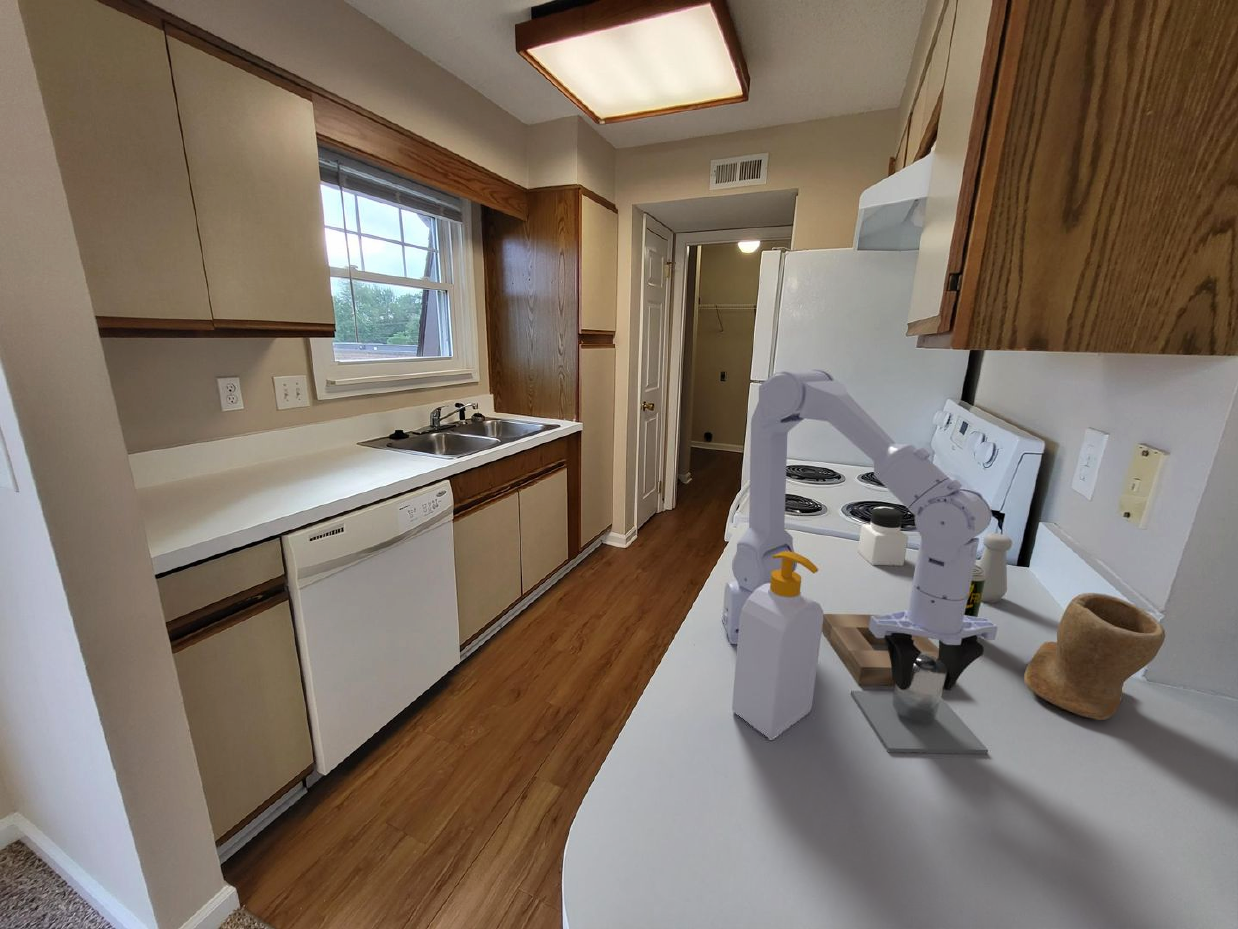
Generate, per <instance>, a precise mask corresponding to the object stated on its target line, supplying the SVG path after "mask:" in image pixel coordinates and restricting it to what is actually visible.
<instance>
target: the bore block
mask: <svg viewBox="0 0 1238 929" xmlns="http://www.w3.org/2000/svg"><path fill="white" fill-rule="evenodd" d="M879 615H880V614H857V613H856V614H852V613H850V614H848V613H846V614H843V613H823V625H822V632H823V633H822V634H823V636H824V637H825V638H827V639H826V640H827V642H828V643H829V644H830V645H831V647H832V649H833V650H834V652H835V653H836V654H837V656H838V657H839V659H840V661H841V662H842V663H843V665H844V667H845V668H846V669H847V671H848V672H849V674H850V675H851V677H852V678H853V680H854V681H855V682H856V684H857V685H858V686H894V687H895V685H896V683H895V682H894V681H893V680H892V667H891V661H890V656H889V652H888V650H875V649H874V648H873V646H872V645H871V644H873V645H886V643H885V640H884V638H876V637H875V636H874V635H873V633H872V632H871V631H870V630H869V625H870V619H871V616H879ZM912 640H914V643H913V644H914V645H915V646H916V647H917V648H918V649H919V651H920V652H923V653H926V654H929V655H931V656H933V657H935V658H937V659H938V655H939V647H938V646H937V645H936V644H934V642H933V641H932V640H930V638H926V637H921V636H912ZM956 685H957V681H956V682H955V684H954V685H953V687H956ZM953 687H952V688H953Z"/></svg>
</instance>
